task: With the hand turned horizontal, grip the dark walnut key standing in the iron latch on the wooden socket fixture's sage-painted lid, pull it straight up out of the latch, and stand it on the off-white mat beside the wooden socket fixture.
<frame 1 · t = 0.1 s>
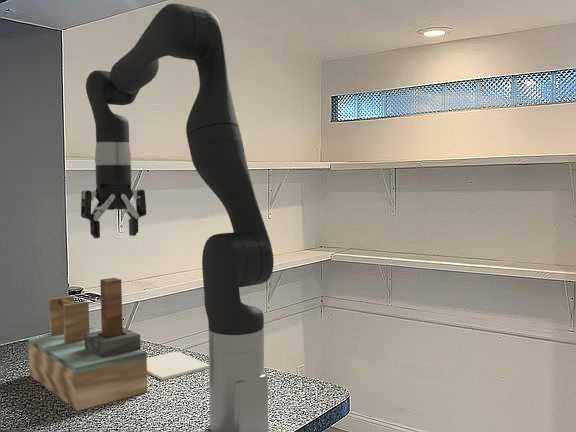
hand: (115, 236, 132), 29 cm above the counter, fingers open, 8 cm apart
wooden socket fixture: (85, 383, 122), on the counter
mat: (170, 366, 133), on the counter
walnut key: (112, 349, 119), point 8 cm above the counter, touching wooden socket fixture
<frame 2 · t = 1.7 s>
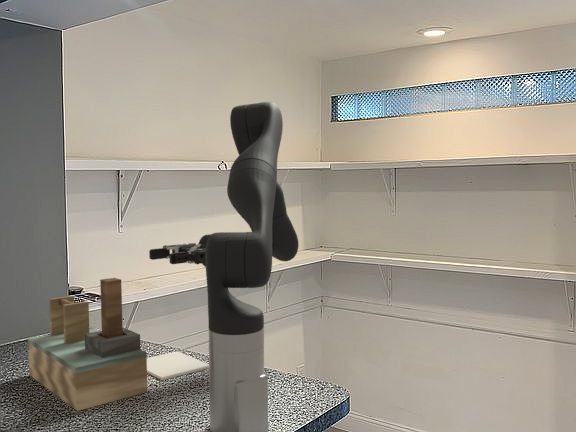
hand: (160, 256, 125), 25 cm above the counter, fingers open, 8 cm apart
nothing on the counter moved.
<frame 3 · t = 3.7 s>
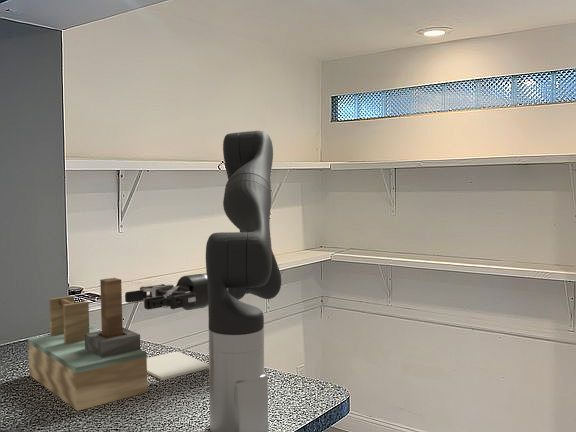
hand: (135, 300, 122), 17 cm above the counter, fingers open, 8 cm apart
nothing on the counter moved.
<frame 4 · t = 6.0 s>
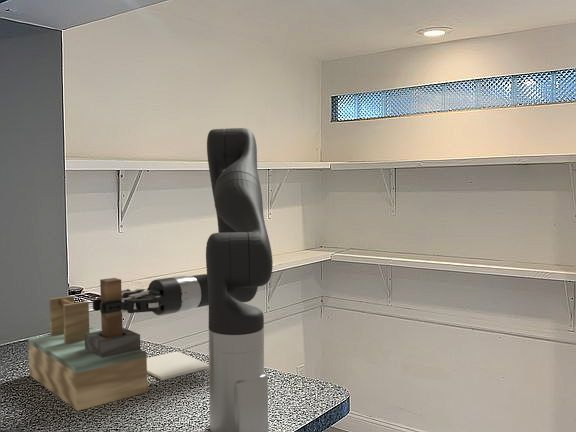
hand: (97, 306, 116), 17 cm above the counter, fingers closed on walnut key, 3 cm apart
walnut key: (112, 349, 119), point 8 cm above the counter, touching gripper, wooden socket fixture
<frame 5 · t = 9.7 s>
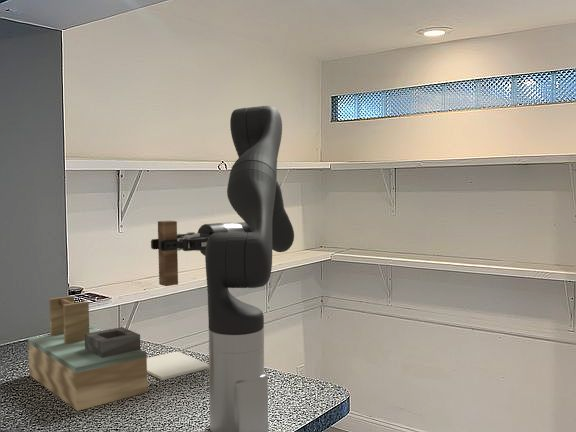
hand: (156, 245, 129), 27 cm above the counter, fingers closed on walnut key, 3 cm apart
walnut key: (168, 284, 132), point 18 cm above the counter, touching gripper
when the fingers open (11 cm above the counter, at t = 13.2 s): walnut key drops 1 cm, resting on mat.
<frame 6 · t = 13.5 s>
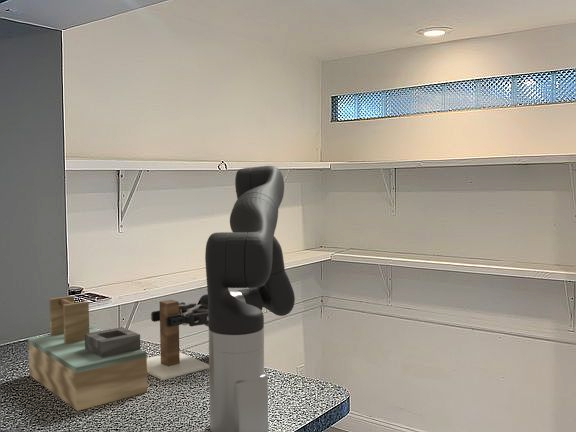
hand: (159, 319, 131), 11 cm above the counter, fingers open, 5 cm apart
walnut key: (170, 363, 133), point 1 cm above the counter, touching mat
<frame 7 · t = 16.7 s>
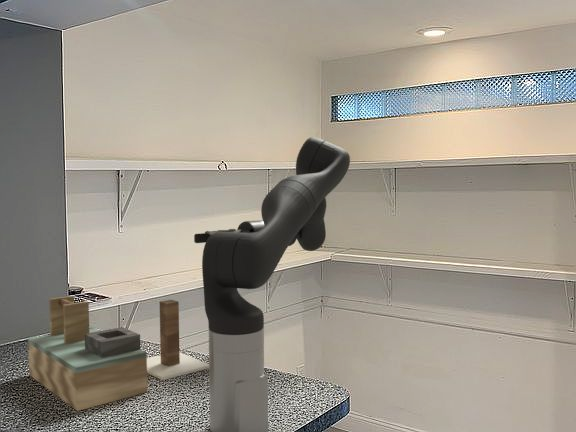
hand: (205, 240, 138), 28 cm above the counter, fingers open, 8 cm apart
nothing on the counter moved.
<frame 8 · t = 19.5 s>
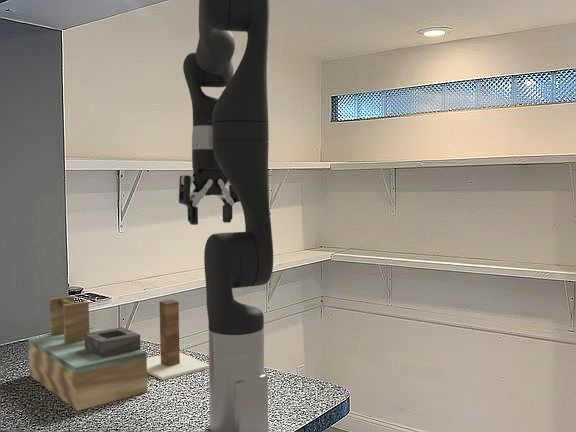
hand: (210, 223, 129), 32 cm above the counter, fingers open, 8 cm apart
nothing on the counter moved.
at the end: walnut key inside the target area on the mat (0.0 cm from its centre), point 0.6 cm above the mat's base; walnut key tilted 0°; the gripper is holding nothing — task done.
